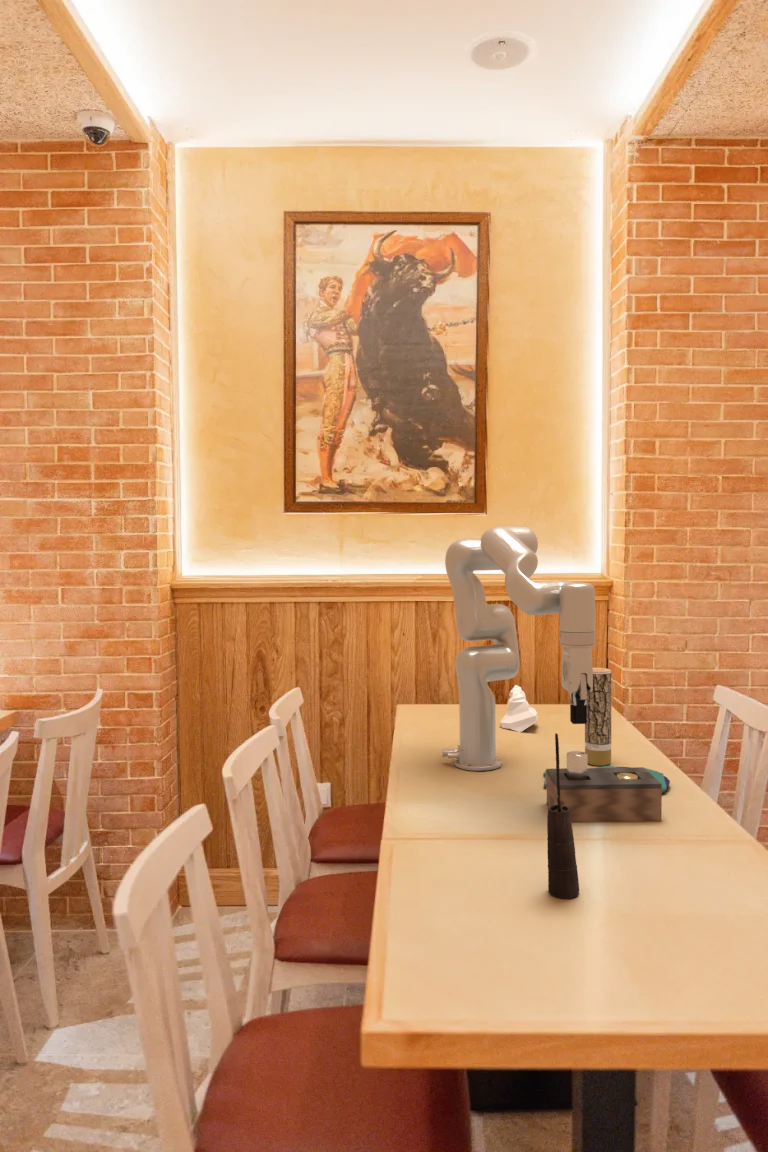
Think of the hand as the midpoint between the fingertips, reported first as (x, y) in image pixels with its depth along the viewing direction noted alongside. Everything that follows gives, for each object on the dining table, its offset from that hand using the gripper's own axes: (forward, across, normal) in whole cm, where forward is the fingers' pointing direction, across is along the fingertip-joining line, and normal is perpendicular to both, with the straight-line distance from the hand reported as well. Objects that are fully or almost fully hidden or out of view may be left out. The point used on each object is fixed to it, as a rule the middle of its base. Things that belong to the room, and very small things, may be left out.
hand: (578, 722), depth 176 cm
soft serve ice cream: (+19, -78, 0) cm, 80 cm away
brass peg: (+20, -1, +11) cm, 23 cm away
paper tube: (+20, -38, +14) cm, 45 cm away
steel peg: (+15, -1, 0) cm, 15 cm away
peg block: (+20, -1, +5) cm, 21 cm away
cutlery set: (+20, -21, +11) cm, 31 cm away
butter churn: (+21, +37, -12) cm, 44 cm away
